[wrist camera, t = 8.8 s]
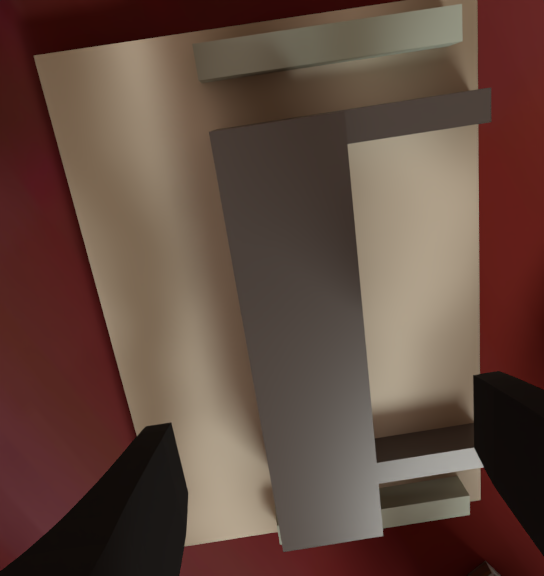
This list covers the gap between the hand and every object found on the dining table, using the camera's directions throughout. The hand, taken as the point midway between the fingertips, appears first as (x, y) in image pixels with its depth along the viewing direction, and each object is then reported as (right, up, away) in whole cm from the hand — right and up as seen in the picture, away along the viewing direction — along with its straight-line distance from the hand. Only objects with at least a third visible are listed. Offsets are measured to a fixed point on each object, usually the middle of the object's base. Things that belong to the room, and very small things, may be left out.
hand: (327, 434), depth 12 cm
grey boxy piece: (+2, +3, +7) cm, 8 cm away
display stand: (-1, +3, +8) cm, 9 cm away
